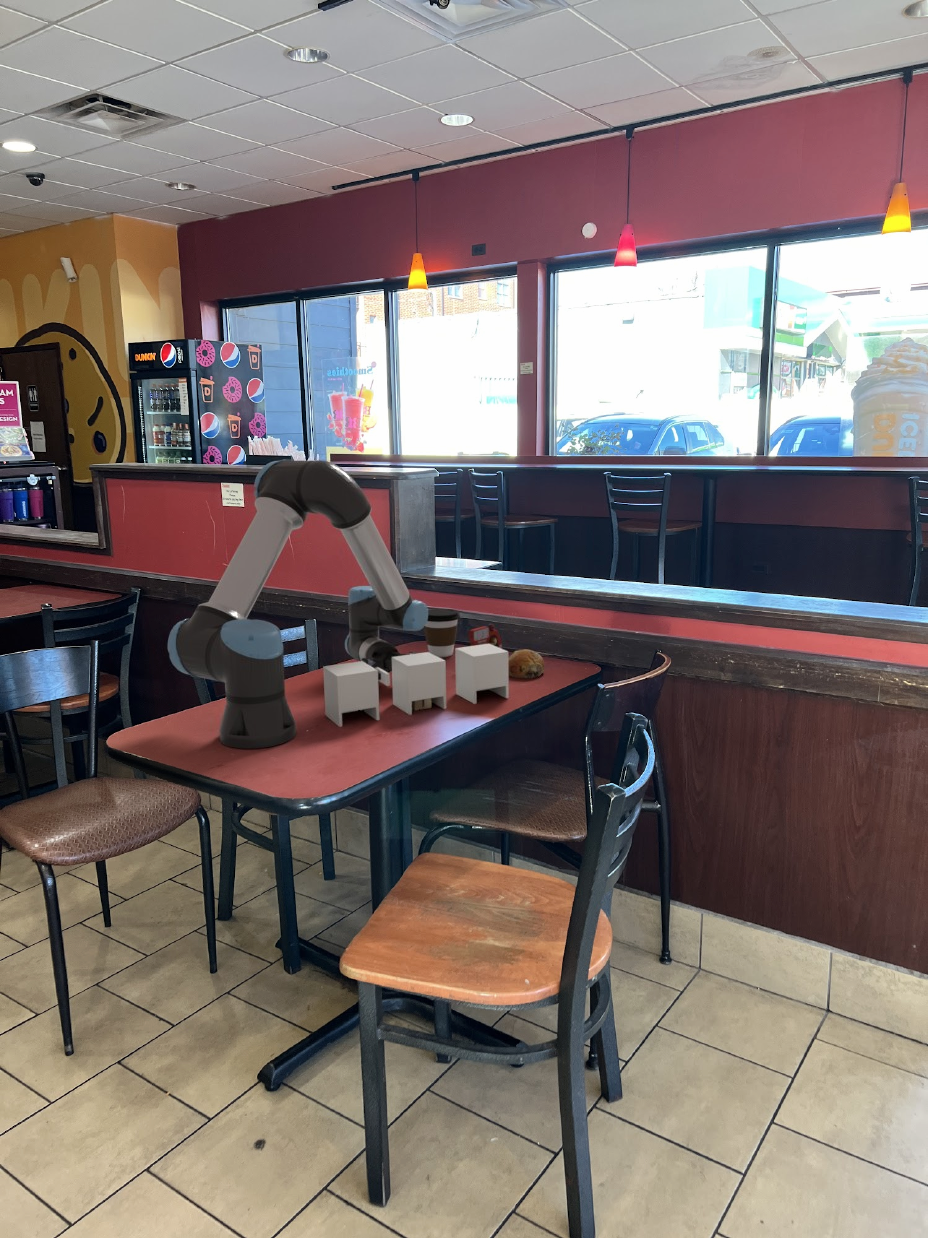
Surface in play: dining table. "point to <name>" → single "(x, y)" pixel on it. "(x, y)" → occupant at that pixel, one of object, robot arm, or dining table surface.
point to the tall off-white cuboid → (418, 680)
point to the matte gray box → (481, 671)
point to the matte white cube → (350, 690)
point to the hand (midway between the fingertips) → (416, 675)
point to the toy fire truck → (485, 636)
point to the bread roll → (525, 664)
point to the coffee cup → (441, 631)
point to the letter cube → (421, 704)
